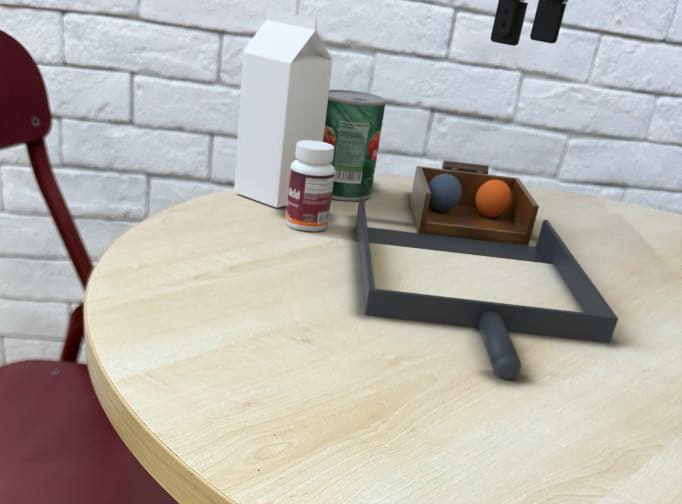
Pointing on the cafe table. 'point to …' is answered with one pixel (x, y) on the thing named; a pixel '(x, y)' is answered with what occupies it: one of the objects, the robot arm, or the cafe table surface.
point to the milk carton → (279, 103)
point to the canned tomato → (353, 141)
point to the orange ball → (493, 198)
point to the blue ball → (444, 192)
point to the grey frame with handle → (483, 314)
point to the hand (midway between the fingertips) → (523, 42)
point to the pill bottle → (310, 186)
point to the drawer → (473, 207)
